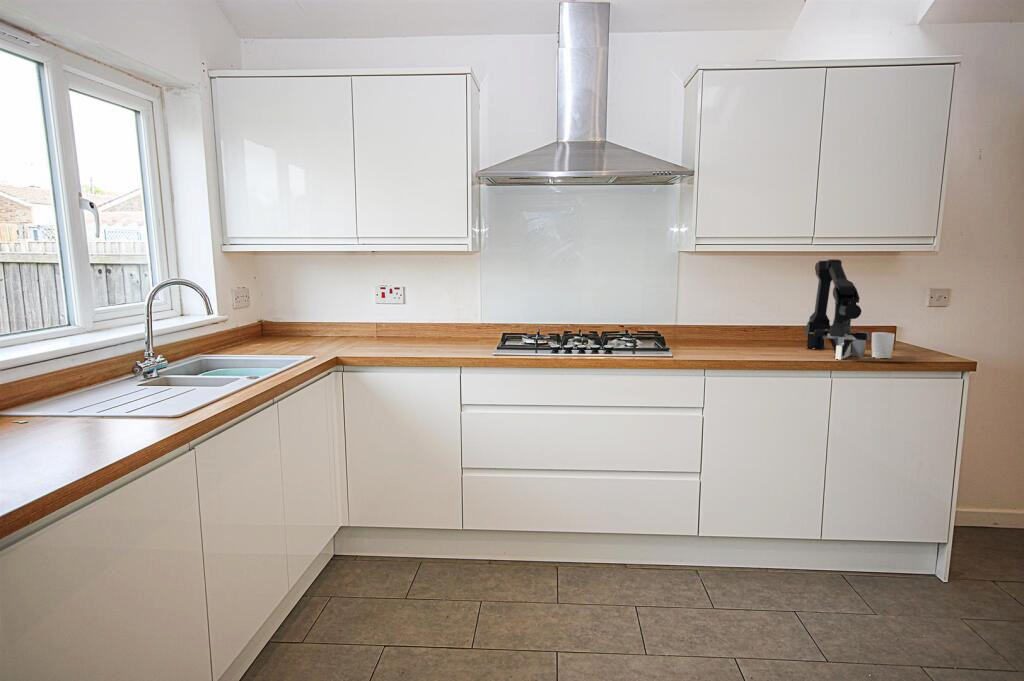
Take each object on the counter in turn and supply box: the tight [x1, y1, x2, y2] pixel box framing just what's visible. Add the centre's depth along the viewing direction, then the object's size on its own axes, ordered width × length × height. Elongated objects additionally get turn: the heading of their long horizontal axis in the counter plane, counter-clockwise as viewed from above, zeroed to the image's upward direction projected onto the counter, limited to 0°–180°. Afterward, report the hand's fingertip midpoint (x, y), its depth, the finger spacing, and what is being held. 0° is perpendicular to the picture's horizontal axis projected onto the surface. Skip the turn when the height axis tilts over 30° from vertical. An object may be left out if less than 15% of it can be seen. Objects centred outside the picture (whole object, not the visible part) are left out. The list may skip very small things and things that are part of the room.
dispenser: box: [838, 337, 867, 358], centre depth 243 cm, size 8×9×9 cm
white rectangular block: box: [834, 342, 852, 361], centre depth 235 cm, size 15×2×6 cm, turn 137°
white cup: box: [870, 331, 896, 359], centre depth 236 cm, size 8×8×10 cm
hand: (839, 355), depth 231 cm, fingers closed on white rectangular block, 2 cm apart
